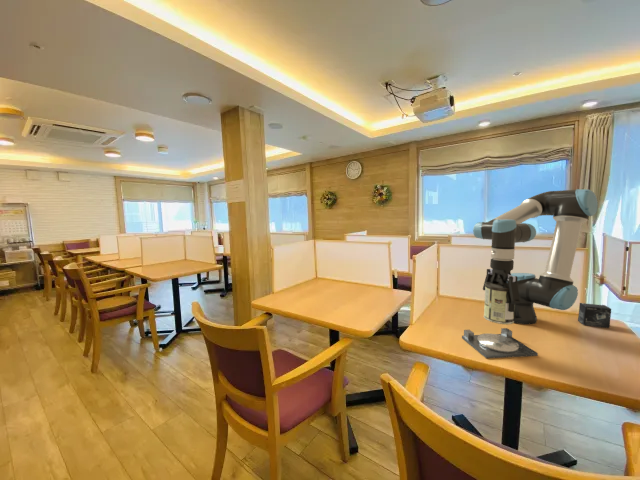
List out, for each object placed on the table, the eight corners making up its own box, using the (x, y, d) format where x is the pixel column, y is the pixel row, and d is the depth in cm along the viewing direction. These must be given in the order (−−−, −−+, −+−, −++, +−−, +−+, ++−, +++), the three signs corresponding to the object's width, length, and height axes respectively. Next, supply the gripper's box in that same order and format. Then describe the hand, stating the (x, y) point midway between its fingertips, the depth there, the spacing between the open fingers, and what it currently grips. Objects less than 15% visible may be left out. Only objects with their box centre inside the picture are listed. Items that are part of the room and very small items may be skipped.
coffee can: (506, 315, 112) (508, 282, 110) (519, 325, 102) (522, 289, 100) (479, 313, 114) (481, 281, 112) (489, 323, 104) (491, 288, 102)
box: (583, 325, 126) (585, 306, 125) (577, 321, 131) (579, 302, 130) (609, 328, 123) (612, 308, 122) (602, 323, 128) (604, 304, 127)
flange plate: (506, 336, 118) (507, 327, 117) (537, 356, 102) (538, 346, 101) (461, 338, 117) (462, 329, 116) (486, 358, 101) (486, 348, 100)
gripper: (474, 254, 116) (472, 304, 119) (514, 265, 94) (510, 326, 96) (491, 254, 117) (488, 303, 119) (535, 264, 94) (531, 325, 97)
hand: (498, 313), depth 108 cm, fingers closed on coffee can, 10 cm apart
